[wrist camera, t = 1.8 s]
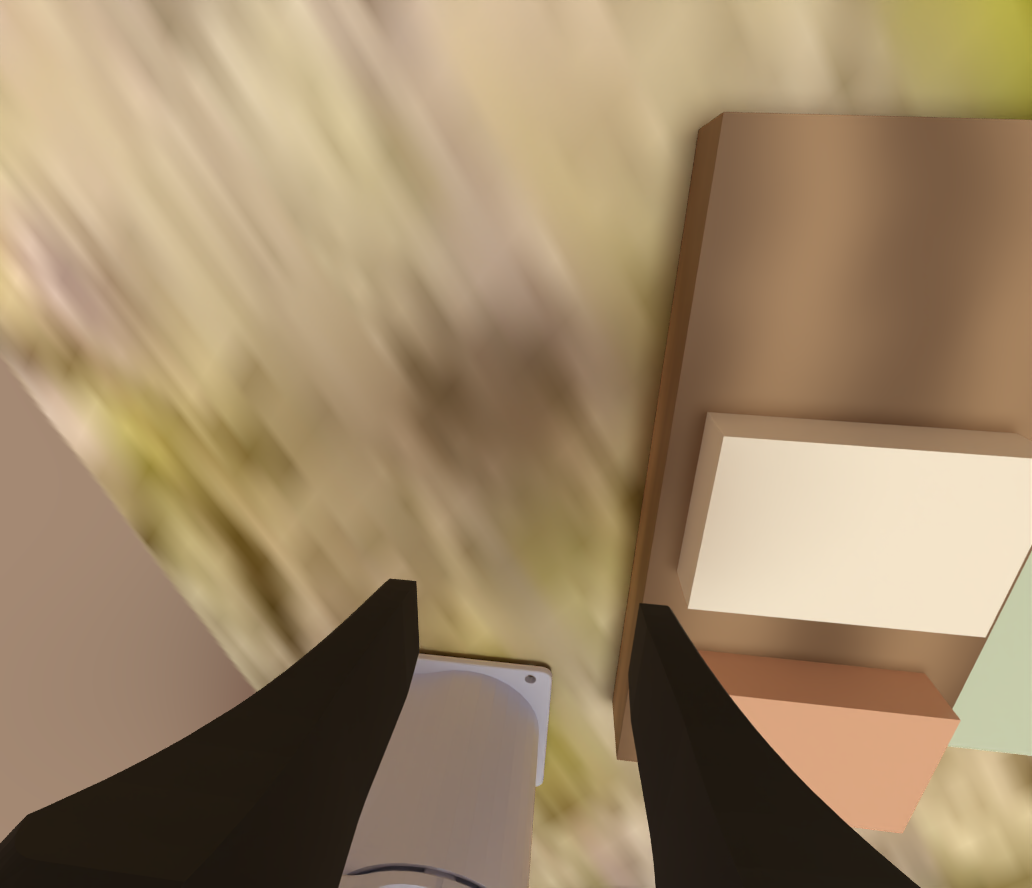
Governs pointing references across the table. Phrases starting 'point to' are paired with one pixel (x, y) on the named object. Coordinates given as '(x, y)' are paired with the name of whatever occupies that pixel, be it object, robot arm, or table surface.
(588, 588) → the table surface
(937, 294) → the board
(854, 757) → the tile
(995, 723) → the mat
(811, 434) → the tile
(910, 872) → the table surface
